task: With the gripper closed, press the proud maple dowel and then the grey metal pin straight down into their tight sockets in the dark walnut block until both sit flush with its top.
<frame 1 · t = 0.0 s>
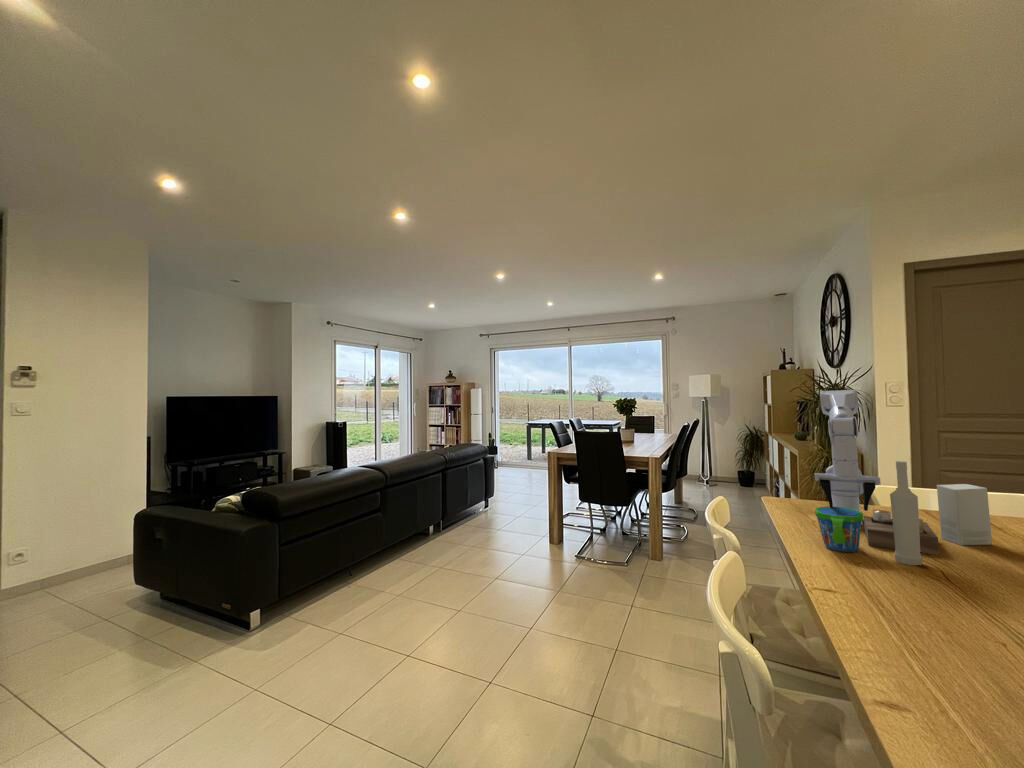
hand: (848, 508, 119), 10 cm above the table, tool pointing down, fingers open, 7 cm apart
snack cup: (841, 548, 116), on the table, touching gripper
bottle: (908, 562, 105), on the table
maple dowel: (913, 527, 116), point 5 cm above the table, slide at 3.0 cm
steel pin: (882, 518, 124), point 5 cm above the table, slide at 3.0 cm
skincare box: (966, 542, 118), on the table
walnut block: (898, 541, 119), on the table
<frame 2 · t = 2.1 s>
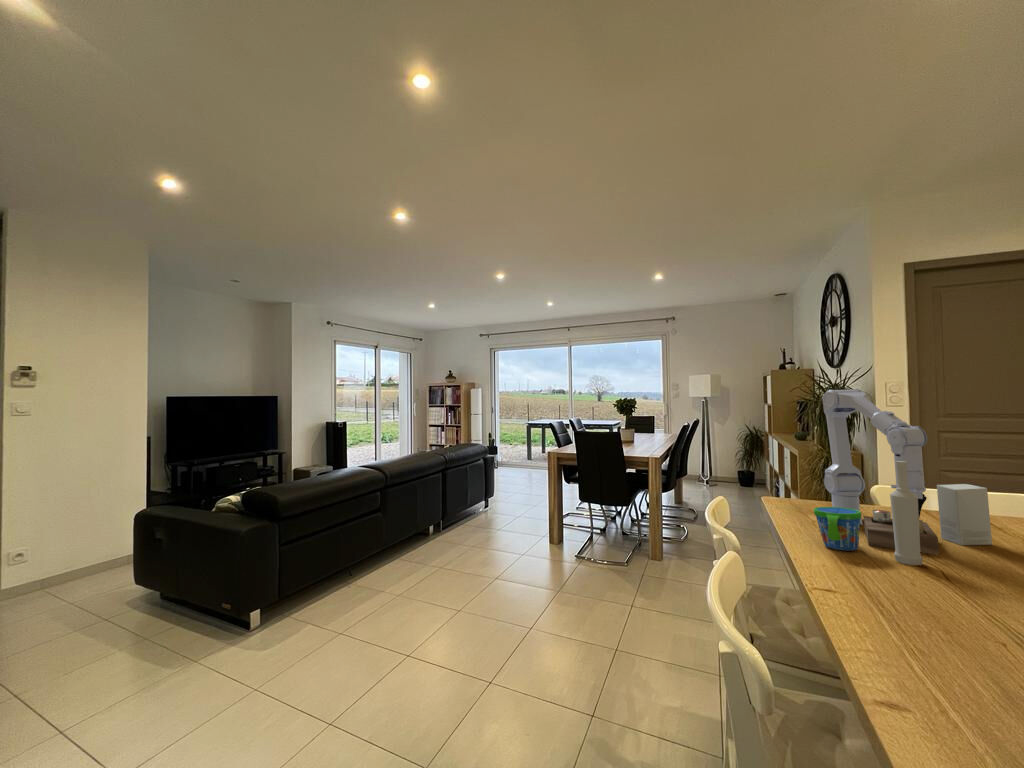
hand: (912, 520, 116), 7 cm above the table, tool pointing down, fingers closed, pressing on maple dowel
snack cup: (841, 548, 116), on the table
maple dowel: (913, 528, 116), point 5 cm above the table, slide at 2.8 cm, touching gripper
everything else where it was.
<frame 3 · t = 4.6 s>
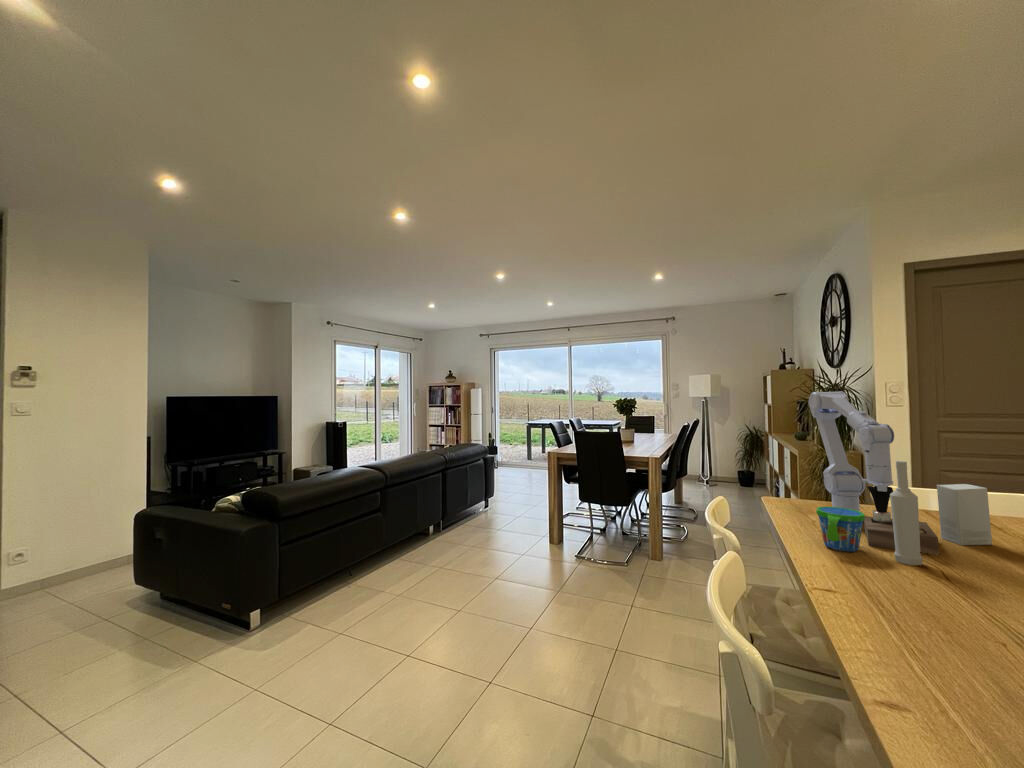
hand: (881, 511, 124), 7 cm above the table, tool pointing down, fingers closed, pressing on steel pin
maple dowel: (914, 538, 115), point 2 cm above the table, slide at -0.1 cm
steel pin: (882, 519, 124), point 5 cm above the table, slide at 2.9 cm, touching gripper
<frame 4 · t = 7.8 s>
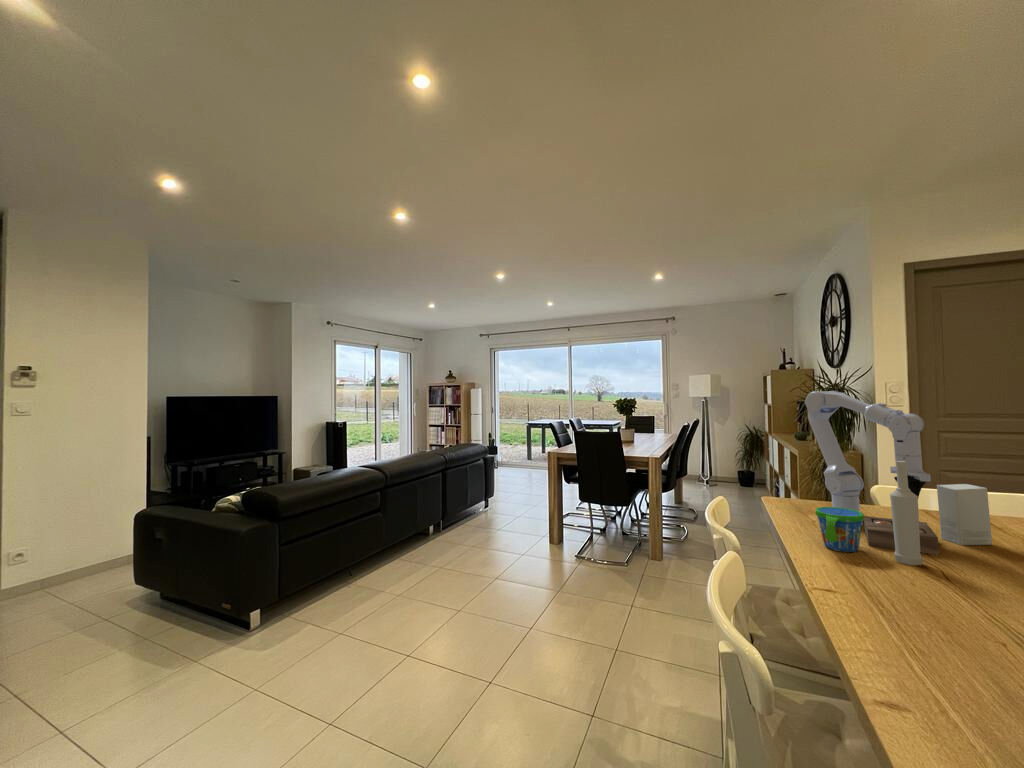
hand: (911, 502, 122), 10 cm above the table, tool pointing down, fingers closed
steel pin: (882, 529, 124), point 2 cm above the table, slide at -0.1 cm
everything else where it was.
at the end: maple dowel slide at -0.1 cm; steel pin slide at -0.1 cm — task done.
